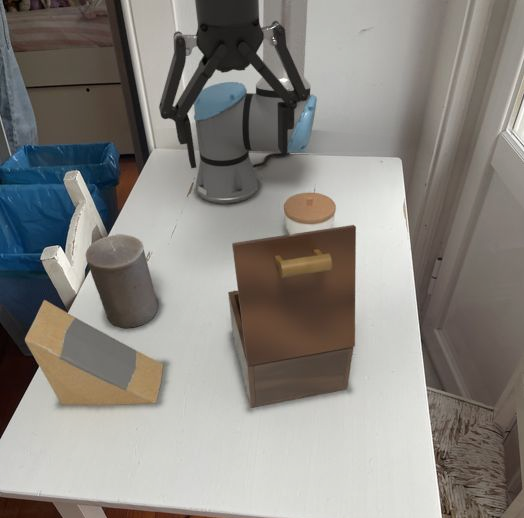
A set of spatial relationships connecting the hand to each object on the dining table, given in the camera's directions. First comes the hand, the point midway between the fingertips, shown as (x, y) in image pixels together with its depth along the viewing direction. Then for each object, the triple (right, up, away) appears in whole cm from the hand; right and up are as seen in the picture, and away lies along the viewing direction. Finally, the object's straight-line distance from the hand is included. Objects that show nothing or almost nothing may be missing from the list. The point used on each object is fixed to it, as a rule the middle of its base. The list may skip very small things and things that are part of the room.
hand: (238, 157), depth 72 cm
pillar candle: (-21, -21, +19) cm, 36 cm away
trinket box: (+14, -4, +34) cm, 37 cm away
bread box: (+8, -30, +10) cm, 33 cm away
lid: (+8, -22, -7) cm, 24 cm away
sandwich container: (-21, -34, +7) cm, 41 cm away
